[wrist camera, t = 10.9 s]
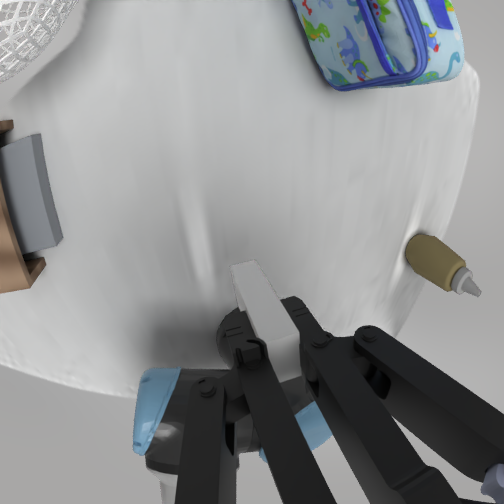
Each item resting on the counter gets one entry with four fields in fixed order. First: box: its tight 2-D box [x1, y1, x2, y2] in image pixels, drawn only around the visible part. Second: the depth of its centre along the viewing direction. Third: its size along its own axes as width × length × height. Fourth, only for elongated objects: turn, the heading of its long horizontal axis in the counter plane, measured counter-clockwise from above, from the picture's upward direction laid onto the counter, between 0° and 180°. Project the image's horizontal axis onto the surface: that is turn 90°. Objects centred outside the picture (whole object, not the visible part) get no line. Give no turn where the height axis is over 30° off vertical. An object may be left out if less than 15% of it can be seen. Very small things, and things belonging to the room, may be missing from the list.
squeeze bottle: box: [406, 235, 481, 297], centre depth 43 cm, size 8×8×18 cm
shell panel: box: [0, 134, 63, 254], centre depth 29 cm, size 15×12×4 cm
